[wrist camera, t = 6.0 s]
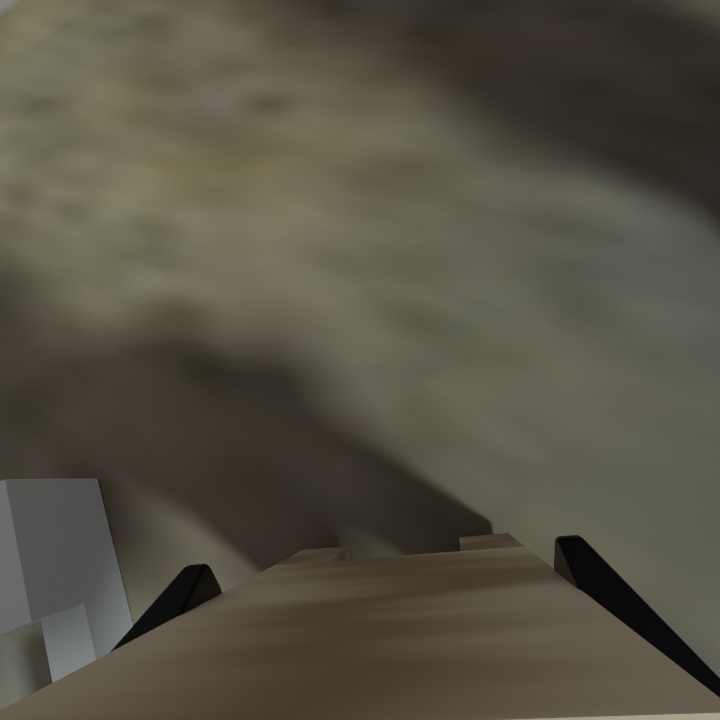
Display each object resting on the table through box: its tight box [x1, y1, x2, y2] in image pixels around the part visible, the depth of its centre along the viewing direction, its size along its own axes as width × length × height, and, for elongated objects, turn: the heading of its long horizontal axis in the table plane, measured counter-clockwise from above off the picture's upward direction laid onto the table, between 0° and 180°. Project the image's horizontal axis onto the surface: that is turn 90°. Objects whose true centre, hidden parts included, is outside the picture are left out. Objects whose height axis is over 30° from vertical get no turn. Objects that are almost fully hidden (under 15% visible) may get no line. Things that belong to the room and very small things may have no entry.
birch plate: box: [0, 533, 720, 720], centre depth 9 cm, size 6×2×12 cm, turn 96°
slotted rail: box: [0, 478, 133, 683], centre depth 14 cm, size 12×2×4 cm, turn 23°
